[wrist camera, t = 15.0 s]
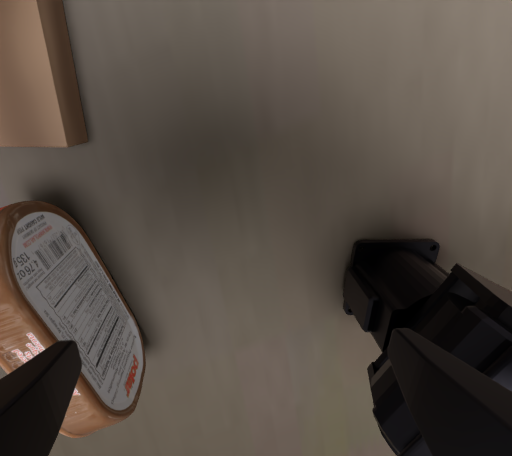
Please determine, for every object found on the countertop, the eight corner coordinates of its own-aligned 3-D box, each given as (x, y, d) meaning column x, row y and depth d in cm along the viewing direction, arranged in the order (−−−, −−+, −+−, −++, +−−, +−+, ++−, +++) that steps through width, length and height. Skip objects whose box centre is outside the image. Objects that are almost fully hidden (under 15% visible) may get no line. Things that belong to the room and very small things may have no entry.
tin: (21, 193, 19) (-121, 254, 11) (66, 179, 19) (-47, 230, 11) (126, 358, 25) (80, 472, 17) (162, 348, 25) (131, 458, 17)
